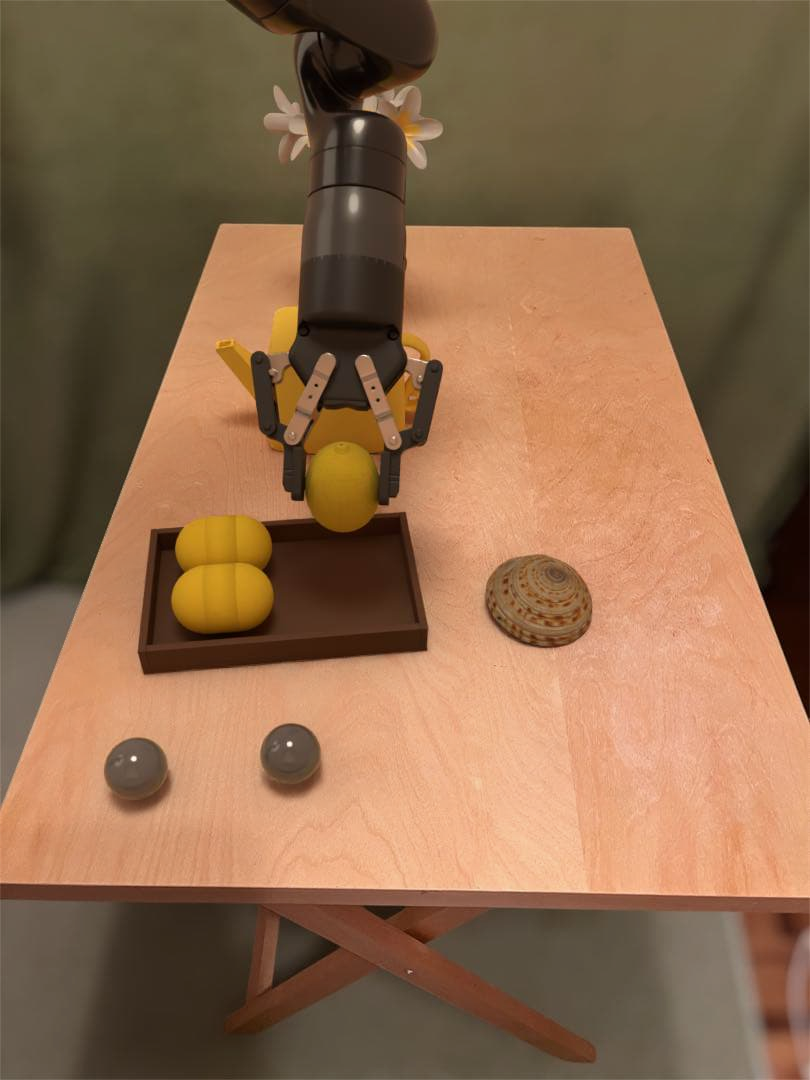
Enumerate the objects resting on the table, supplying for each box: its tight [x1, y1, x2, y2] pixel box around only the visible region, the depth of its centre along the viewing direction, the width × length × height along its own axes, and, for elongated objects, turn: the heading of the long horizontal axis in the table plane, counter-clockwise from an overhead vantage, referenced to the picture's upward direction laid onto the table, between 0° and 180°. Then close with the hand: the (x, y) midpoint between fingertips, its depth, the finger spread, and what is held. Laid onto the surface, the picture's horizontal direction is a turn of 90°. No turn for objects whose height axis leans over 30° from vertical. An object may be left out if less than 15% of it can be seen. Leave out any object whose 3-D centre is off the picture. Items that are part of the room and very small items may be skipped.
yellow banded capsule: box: [175, 514, 272, 572], centre depth 73 cm, size 8×5×5 cm
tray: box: [137, 511, 429, 675], centre depth 72 cm, size 21×13×3 cm, turn 97°
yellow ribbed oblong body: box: [171, 563, 274, 634], centre depth 69 cm, size 8×5×5 cm
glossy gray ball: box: [103, 736, 169, 801], centre depth 59 cm, size 4×4×4 cm
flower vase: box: [263, 84, 444, 170], centre depth 99 cm, size 13×18×25 cm
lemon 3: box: [305, 441, 380, 532], centre depth 66 cm, size 6×6×8 cm
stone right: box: [259, 722, 322, 786], centre depth 60 cm, size 4×4×4 cm
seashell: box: [485, 553, 593, 647], centre depth 73 cm, size 8×6×8 cm
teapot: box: [215, 305, 431, 455], centre depth 87 cm, size 20×12×12 cm, turn 92°
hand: (341, 501), depth 65 cm, fingers closed on lemon 3, 5 cm apart
